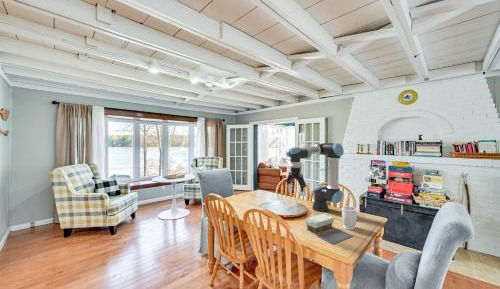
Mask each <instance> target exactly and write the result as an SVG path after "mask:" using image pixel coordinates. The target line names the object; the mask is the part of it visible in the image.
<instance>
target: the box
mask: <svg viewBox="0 0 500 289" xmlns="http://www.w3.org/2000/svg"><path fill="white" fill-rule="evenodd" d="M332 228H333V223H330V224H327V225H324V226H321V227H318V228H314V227H312V226H309V225H307V224H306V230H307V231H309V232H311V233H313V234H315V235H317V234H319V233H322V232H325V231H327V230H330V229H332Z"/></svg>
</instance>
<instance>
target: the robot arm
mask: <svg viewBox="0 0 500 289" xmlns="http://www.w3.org/2000/svg"><path fill="white" fill-rule="evenodd" d="M312 155H317V156H319V155H322V156H326V159H327V160H328V168H327V169H328V170H327V171H328V175H327V176H328V177H327V178H328V180H327V185H325V184H321V185H315V186H314V187H313V198H314V199H313V200H314V201H313V203H312V207H311V208H312V210H313V211H315V212H321V213H322V212H323V213H325V212H326V213H327V212H328V211H329V205H328V202H331V203H335V204H339V203H340V202H342V199H343V194H344V193H343V191H342V190H341V187H340V186H339V169H340V168H339V162H340V159H341V158H342V156H343V155H344V147H343V145H342V144H341V143H337V142H324V143H318V144H314V145H311V146H304V147H297V146H296V147H295V146H294V147H290V148H288V149H286V151H285V156H286V157H288V158H289V159H290V171H289V172H288V175H287V178H286V183H287V186H288V191H287V192H288V193H291V192H292V190H293V189H292V186H293V185H292V182H293V180H294V179H295V180H296V181H297V183H298V185H299V186H300V187H299V196H300V197H303V196H304V191H305V188H306V187H307V185H306V182H305V179H304V174H303V173H300V172H301V160H304V159H309V158H311V157H312Z"/></svg>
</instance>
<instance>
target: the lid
mask: <svg viewBox="0 0 500 289" xmlns="http://www.w3.org/2000/svg"><path fill="white" fill-rule="evenodd" d="M334 222H335V220H334V217H333V216H330V215H327V214H324V213H322V214H317V215H314V216H310V217H308V218H305V225H306V226H307V225H309V226H312V227H314V228H318V227H321V226H324V225H327V224H330V223H332V224H333V223H334Z"/></svg>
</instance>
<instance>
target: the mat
mask: <svg viewBox="0 0 500 289" xmlns="http://www.w3.org/2000/svg"><path fill="white" fill-rule="evenodd" d="M316 236H317V238H320V239H321V240H323V241H325V242H327V243H329V244H331V245H336V244H338V243H341V242H342V241H345V240H347V239H350V238H352V237H354V235H353V234H350V233H349V232H347V231H345V230H341V229H339V228H335V229H333V230H330V231H328V232H325V233H322V234H319V235H316Z"/></svg>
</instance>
